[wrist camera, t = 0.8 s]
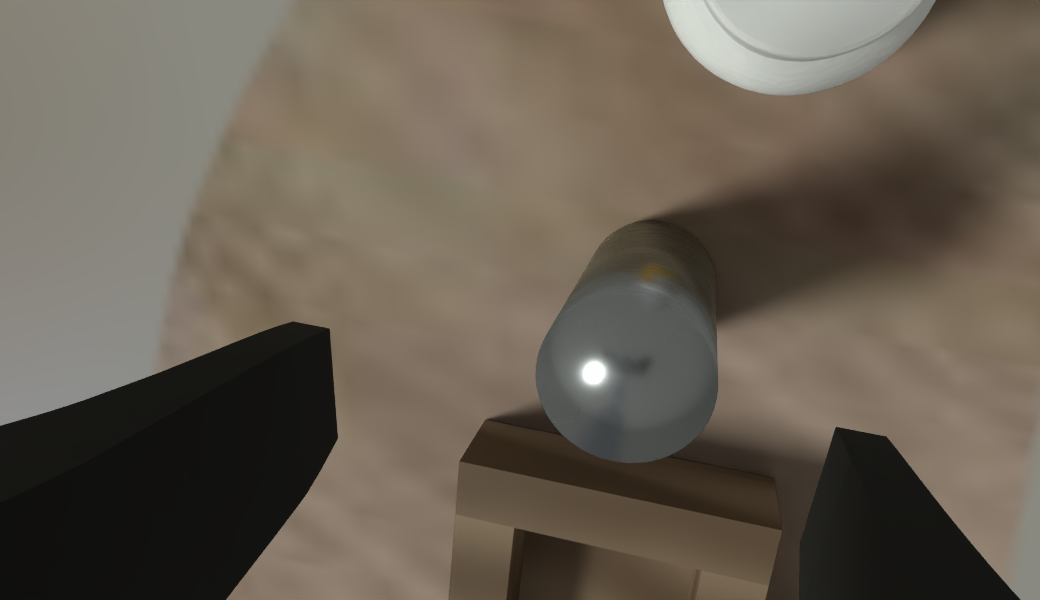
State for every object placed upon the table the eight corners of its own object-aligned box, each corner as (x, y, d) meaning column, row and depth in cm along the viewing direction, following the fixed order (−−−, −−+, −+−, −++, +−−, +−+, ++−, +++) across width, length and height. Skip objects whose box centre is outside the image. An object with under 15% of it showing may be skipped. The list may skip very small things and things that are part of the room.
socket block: (719, 708, 28) (720, 779, 25) (465, 641, 30) (440, 700, 27) (774, 478, 25) (782, 530, 22) (485, 419, 27) (459, 461, 24)
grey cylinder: (703, 351, 24) (700, 479, 17) (581, 330, 25) (527, 443, 18) (726, 230, 23) (733, 311, 16) (596, 212, 24) (545, 281, 16)
